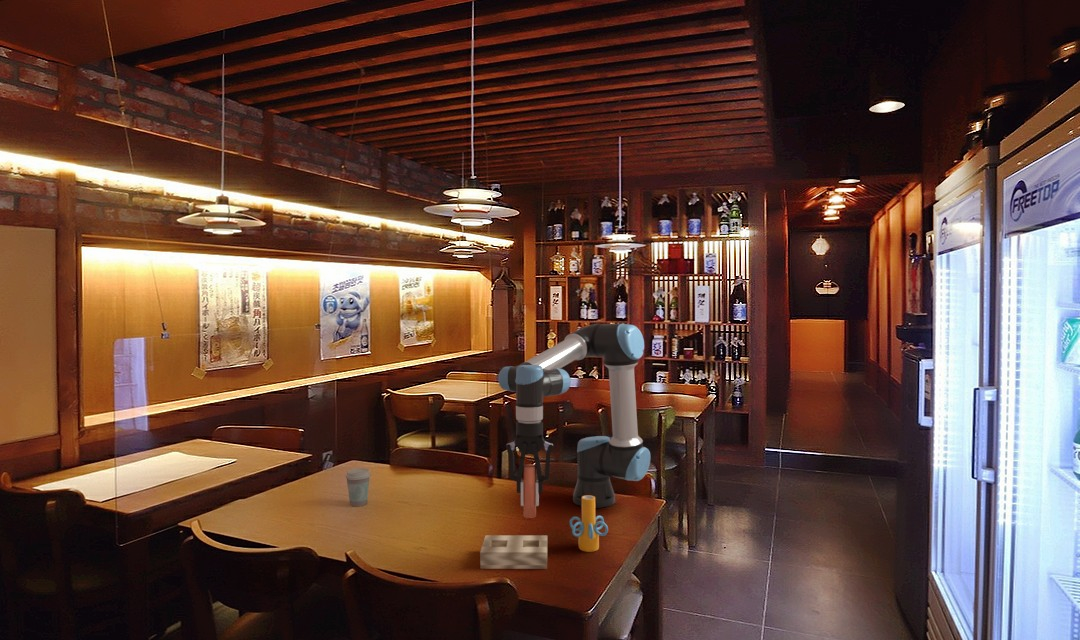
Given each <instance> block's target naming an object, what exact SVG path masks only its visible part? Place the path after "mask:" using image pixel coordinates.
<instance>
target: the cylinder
mask: <svg viewBox="0 0 1080 640" xmlns="http://www.w3.org/2000/svg"><path fill="white" fill-rule="evenodd" d="M598 519H600V520H599V521H598ZM604 519H605V518H604V517H603V516H602V515H597V516H596V508H595V497H594V496H591V495H586V496H582V506H581V518H580V517H578V516H572V517H571V518H570V519H569V526H570V528H571V533H572V535H573V536H574V537H576V538H578V550H580V551H582V552H586V553H593V552H596V551H598V550H599V548H600V536H601V537H604V536H606V535H607V534H608V532H609V526H608V524H606V523H605V520H604ZM574 520H577V522H575V523H574V524H573V522H574ZM578 525H579V527H578V528H576V527H577V526H578ZM598 525H599V526H598ZM603 527H604V528H605V529H604V532H600V530H601V529H603ZM577 532H579V533H577Z"/></svg>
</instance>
